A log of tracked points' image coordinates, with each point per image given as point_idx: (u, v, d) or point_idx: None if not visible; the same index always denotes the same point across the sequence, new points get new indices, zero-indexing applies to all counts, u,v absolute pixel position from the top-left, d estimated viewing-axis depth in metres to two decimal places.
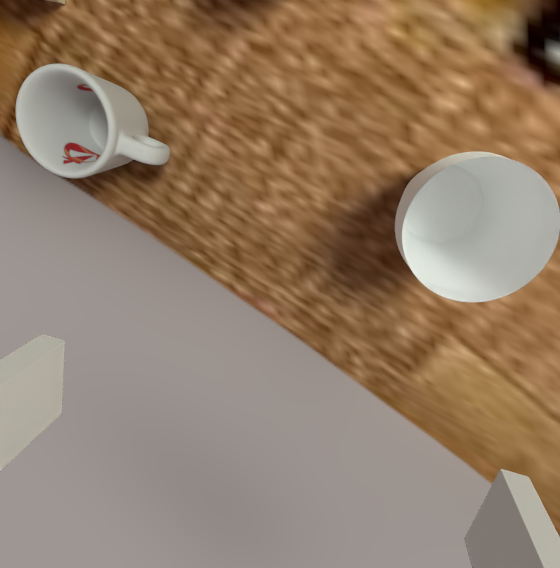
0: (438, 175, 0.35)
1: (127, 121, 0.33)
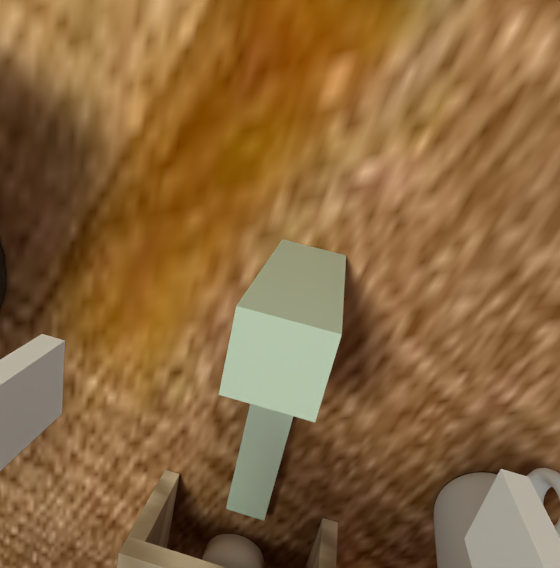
0: None
1: None
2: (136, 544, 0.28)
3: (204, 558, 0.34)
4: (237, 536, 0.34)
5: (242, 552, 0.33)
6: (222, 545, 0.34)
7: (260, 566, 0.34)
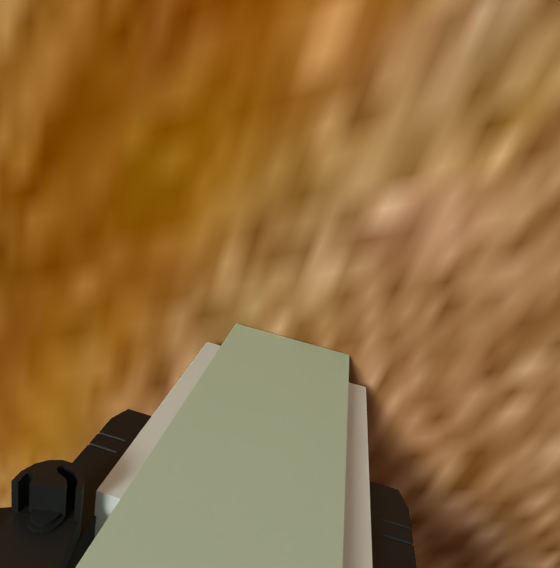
0: None
1: None
2: None
3: None
4: None
5: None
6: None
7: None
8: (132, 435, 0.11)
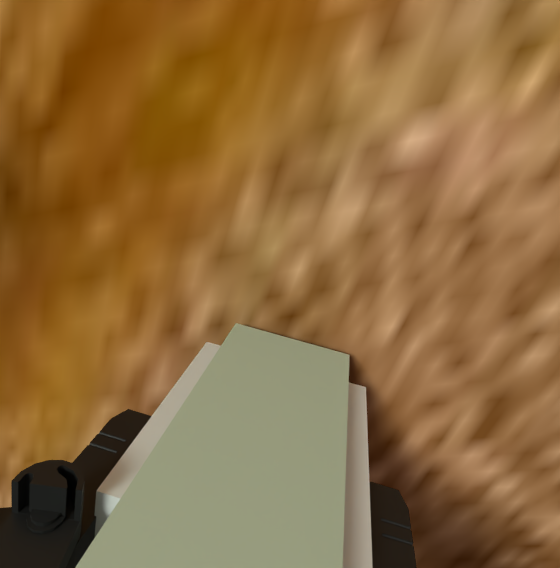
0: None
1: None
2: None
3: None
4: None
5: None
6: None
7: None
8: (132, 435, 0.11)
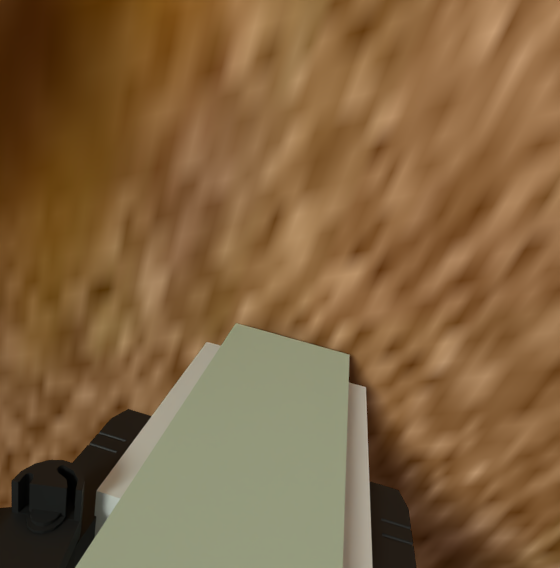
0: None
1: None
2: None
3: None
4: None
5: None
6: None
7: None
8: (132, 435, 0.11)
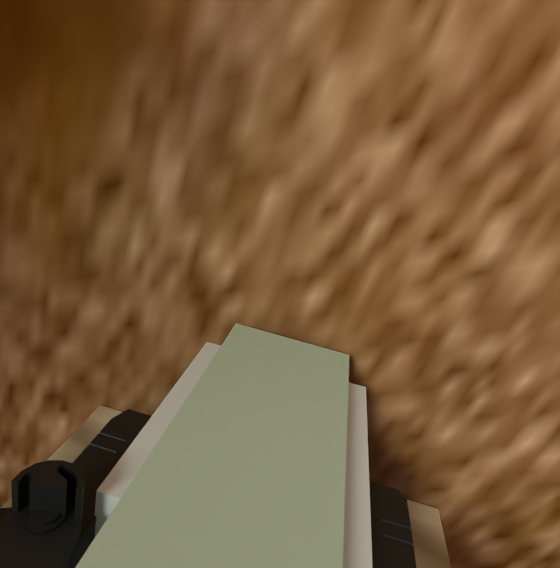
0: None
1: None
2: None
3: None
4: None
5: None
6: None
7: None
8: (132, 435, 0.11)
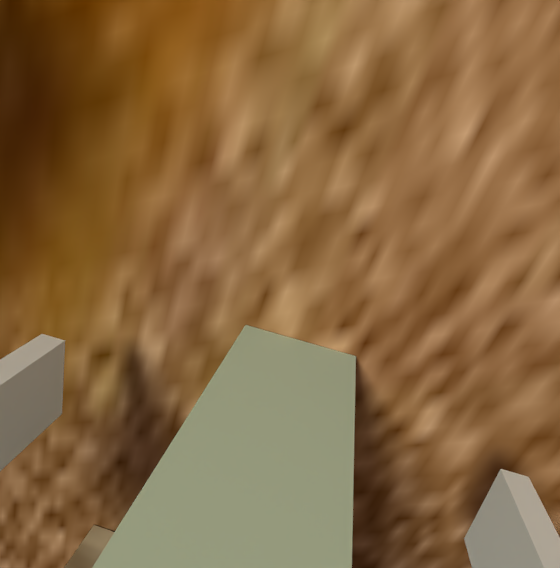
0: None
1: None
2: None
3: None
4: None
5: None
6: None
7: None
8: None
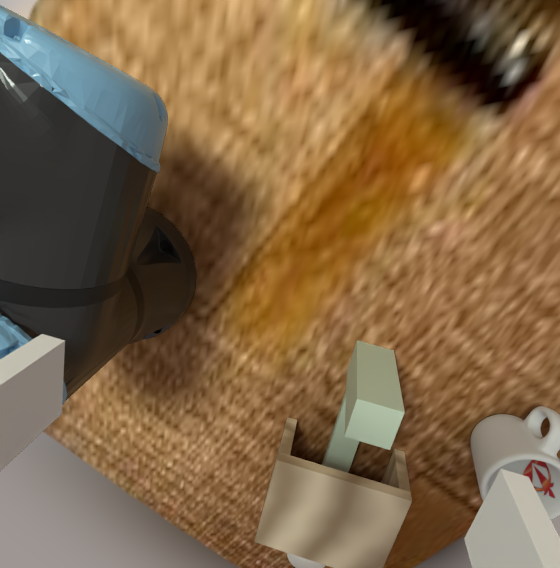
0: None
1: (524, 440, 0.40)
2: (285, 456, 0.44)
3: None
4: None
5: None
6: None
7: None
8: None
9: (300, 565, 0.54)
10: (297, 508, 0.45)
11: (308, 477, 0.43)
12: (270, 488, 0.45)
